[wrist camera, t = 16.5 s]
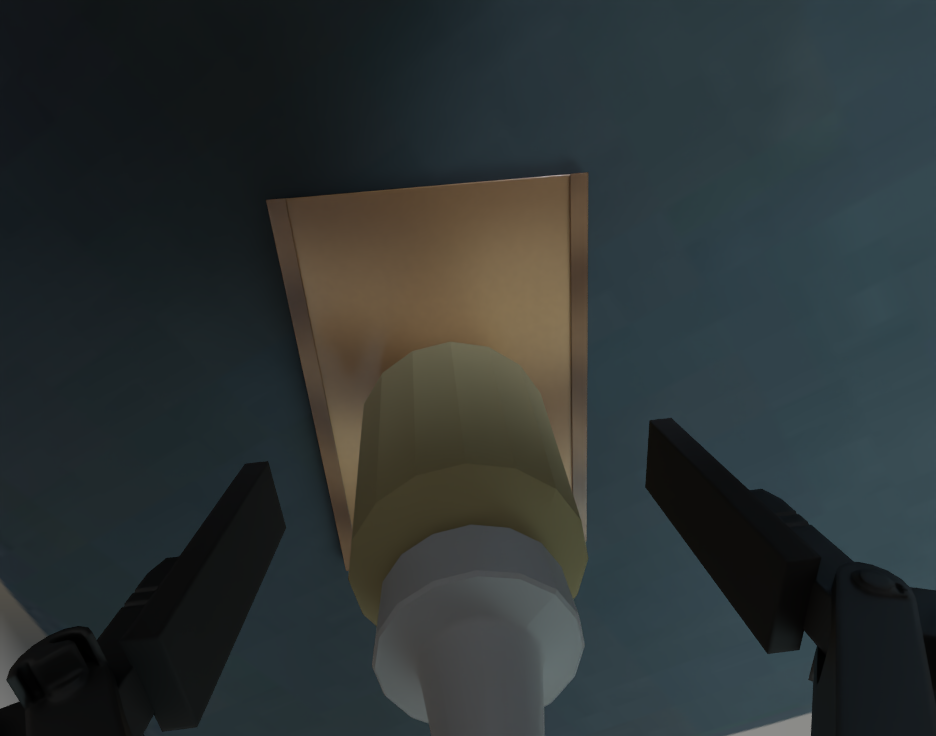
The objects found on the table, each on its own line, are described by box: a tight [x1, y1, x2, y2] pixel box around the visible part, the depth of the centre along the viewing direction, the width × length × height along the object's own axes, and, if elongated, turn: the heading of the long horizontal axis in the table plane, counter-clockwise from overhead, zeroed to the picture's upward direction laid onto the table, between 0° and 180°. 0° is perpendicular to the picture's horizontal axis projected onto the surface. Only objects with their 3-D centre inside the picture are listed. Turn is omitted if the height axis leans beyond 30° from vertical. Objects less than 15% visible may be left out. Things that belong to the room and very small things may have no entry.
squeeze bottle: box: [348, 342, 588, 736], centre depth 15 cm, size 8×8×18 cm
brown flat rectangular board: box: [266, 172, 588, 571], centre depth 24 cm, size 20×14×1 cm
